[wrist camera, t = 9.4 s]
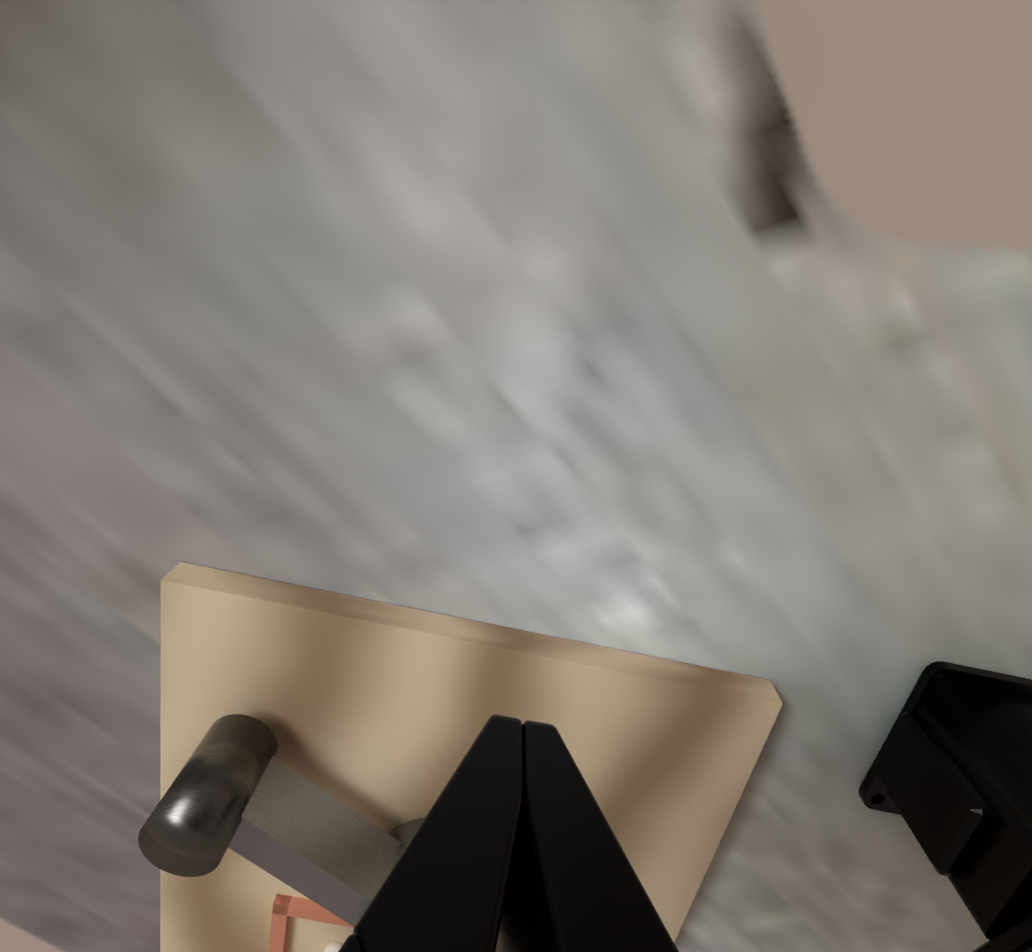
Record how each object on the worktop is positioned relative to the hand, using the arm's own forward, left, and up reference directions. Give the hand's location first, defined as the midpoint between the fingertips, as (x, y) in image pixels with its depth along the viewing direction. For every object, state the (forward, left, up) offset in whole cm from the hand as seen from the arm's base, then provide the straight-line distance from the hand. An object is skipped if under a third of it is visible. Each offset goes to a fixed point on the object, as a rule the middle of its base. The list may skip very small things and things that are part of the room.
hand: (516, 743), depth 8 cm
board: (0, +17, -12) cm, 21 cm away
